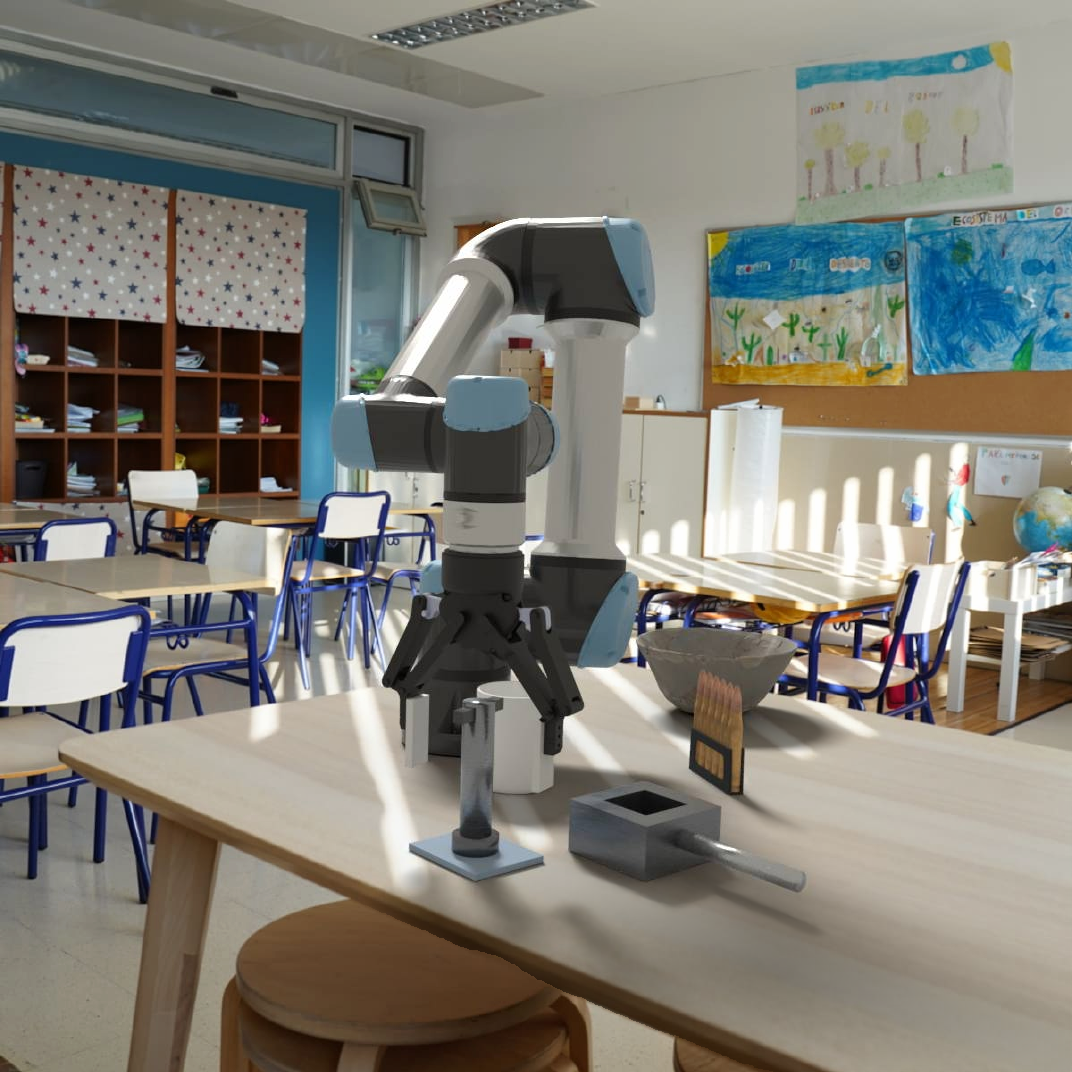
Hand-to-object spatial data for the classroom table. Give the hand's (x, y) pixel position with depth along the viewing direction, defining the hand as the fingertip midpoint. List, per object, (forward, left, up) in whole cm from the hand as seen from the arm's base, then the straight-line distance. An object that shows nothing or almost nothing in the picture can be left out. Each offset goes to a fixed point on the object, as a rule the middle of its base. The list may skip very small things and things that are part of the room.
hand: (477, 776), depth 118 cm
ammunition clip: (-3, +37, -8) cm, 38 cm away
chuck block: (+15, +13, -7) cm, 22 cm away
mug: (-17, +18, -8) cm, 26 cm away
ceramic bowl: (-26, +63, -8) cm, 69 cm away
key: (0, 0, -7) cm, 7 cm away
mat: (0, 0, -8) cm, 8 cm away
